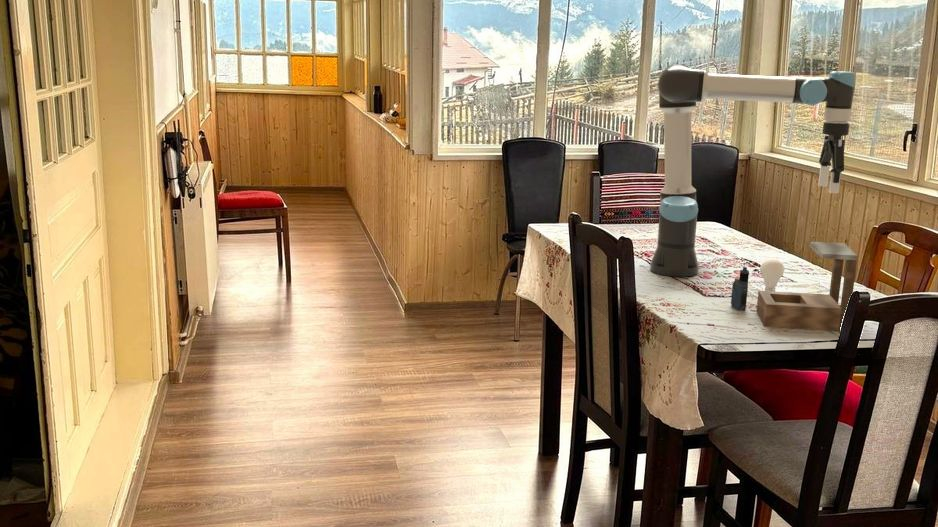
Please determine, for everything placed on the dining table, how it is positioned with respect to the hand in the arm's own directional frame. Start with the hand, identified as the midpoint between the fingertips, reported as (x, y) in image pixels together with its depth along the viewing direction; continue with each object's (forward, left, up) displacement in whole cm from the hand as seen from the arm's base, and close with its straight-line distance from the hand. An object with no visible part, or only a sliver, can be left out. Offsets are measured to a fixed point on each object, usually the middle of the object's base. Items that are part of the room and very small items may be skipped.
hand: (828, 189), depth 275 cm
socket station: (-17, -57, -27) cm, 65 cm away
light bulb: (-21, -32, -27) cm, 47 cm away
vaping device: (-32, -48, -27) cm, 63 cm away
